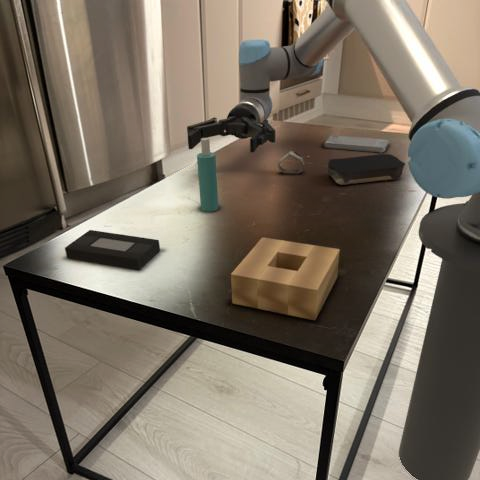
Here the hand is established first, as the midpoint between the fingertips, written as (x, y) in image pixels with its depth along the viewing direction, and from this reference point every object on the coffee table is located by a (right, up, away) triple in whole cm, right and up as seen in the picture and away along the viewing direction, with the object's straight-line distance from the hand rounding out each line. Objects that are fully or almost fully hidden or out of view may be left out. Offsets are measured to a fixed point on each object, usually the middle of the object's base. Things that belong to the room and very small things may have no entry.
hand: (220, 144), depth 105 cm
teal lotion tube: (-2, -14, -2) cm, 14 cm away
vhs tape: (-18, -25, -17) cm, 36 cm away
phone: (+36, +10, +31) cm, 48 cm away
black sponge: (+33, -4, +11) cm, 35 cm away
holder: (+11, -32, -29) cm, 45 cm away
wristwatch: (+16, -2, +15) cm, 22 cm away
